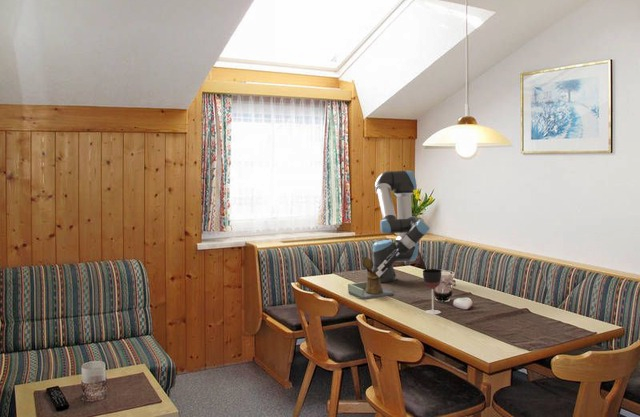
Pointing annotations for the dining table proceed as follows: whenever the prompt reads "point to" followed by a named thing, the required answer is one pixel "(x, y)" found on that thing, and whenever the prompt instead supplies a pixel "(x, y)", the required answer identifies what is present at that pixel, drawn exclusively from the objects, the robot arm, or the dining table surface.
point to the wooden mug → (372, 278)
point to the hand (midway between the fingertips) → (378, 272)
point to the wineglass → (432, 284)
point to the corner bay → (360, 291)
